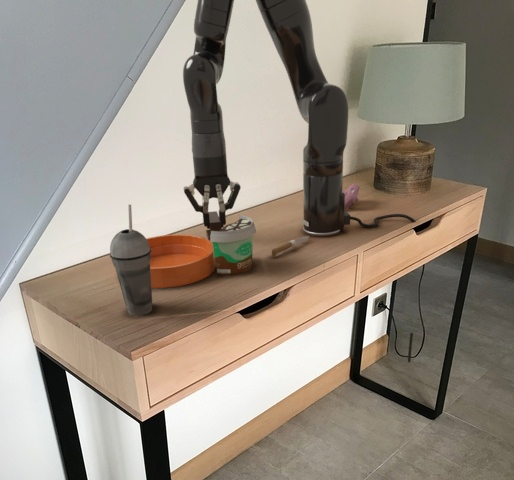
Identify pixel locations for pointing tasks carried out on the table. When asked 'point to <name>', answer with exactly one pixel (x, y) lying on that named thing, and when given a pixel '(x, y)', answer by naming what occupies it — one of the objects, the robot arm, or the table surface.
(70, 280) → the table surface
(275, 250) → the folding knife
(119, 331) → the table surface
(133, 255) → the beverage cup
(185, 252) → the bowl
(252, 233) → the food container
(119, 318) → the table surface
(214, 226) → the dark brown wooden block
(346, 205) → the pink toy figure
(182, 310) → the table surface
